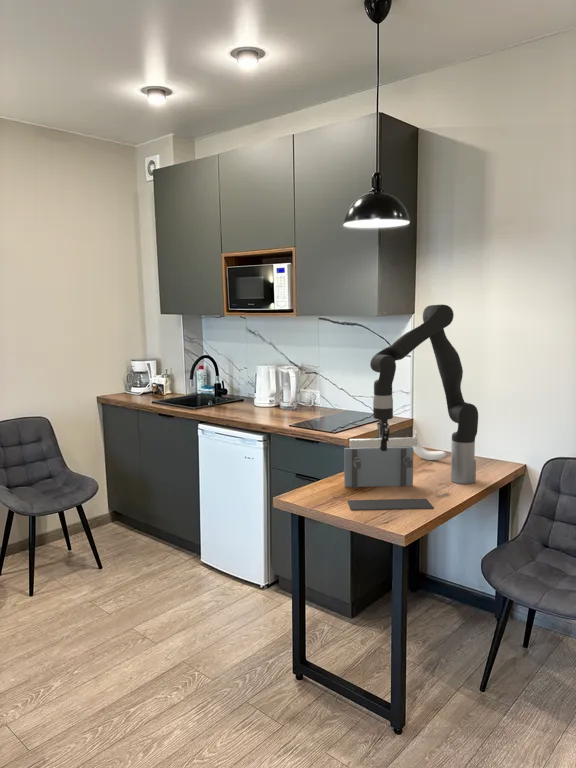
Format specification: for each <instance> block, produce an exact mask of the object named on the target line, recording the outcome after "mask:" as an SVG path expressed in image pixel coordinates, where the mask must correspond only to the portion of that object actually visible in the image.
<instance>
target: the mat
mask: <svg viewBox="0 0 576 768" xmlns="http://www.w3.org/2000/svg"><path fill="white" fill-rule="evenodd" d="M347 504H348V506H350V507H349V509H350V511H381V510H382V511H386V510H387V511H391V510H392V511H396V510H434V509H435V508H434V506H433V505H432V503H431V502H430V501H429V500H428V498H397V499H396V498H393V499H391V498H389V499H388V498H387V499H386V498H385V499H347Z"/></svg>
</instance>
